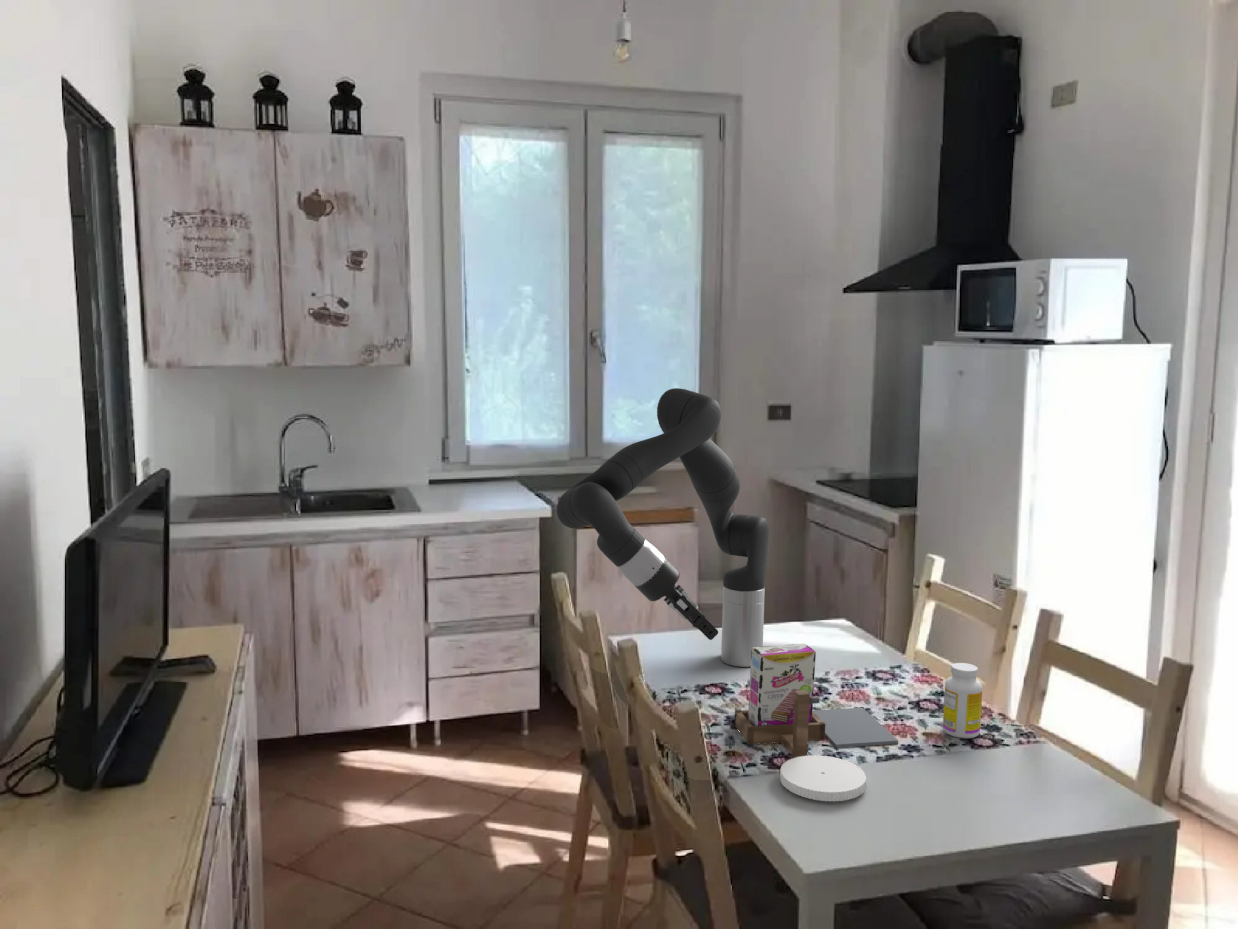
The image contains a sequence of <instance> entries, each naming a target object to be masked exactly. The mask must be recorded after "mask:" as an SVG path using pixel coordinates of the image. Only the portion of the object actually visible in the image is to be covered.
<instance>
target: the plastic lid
mask: <svg viewBox="0 0 1238 929" xmlns="http://www.w3.org/2000/svg"><path fill="white" fill-rule="evenodd" d="M779 772H780V773H779V774H780V775H779V780H780V782H781V784H782V786H783V787H785V789H786V790H788V791H789V792H790V793H793V794H795V795H798V796H799V797H800V796H801V797H802V798H806V799H809V800H814V801H820V802H839V801H840V802H843V801H849V800H852V799H855V798H858V797H860V796H861V795H863V794H864V793H865V791H866V789H867V774H866V772H865V771H864V770H863V769H862V768H861V767H860V766H858V765H857V764H855V763H853V762H851V761H848V760H845V759H843V758H839V757H838V758H837V757H835V756H834V757H833V756H829V755H827V756H826V755H821V754H820V755H817V754H816V755H815V754H814V755H810V754H809V755H807V756H802V757H796V758H794V757H793V758H790V759H788V760H786V761H784V762H783V764H781V767H780V771H779Z"/></svg>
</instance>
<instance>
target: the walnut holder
mask: <svg viewBox="0 0 1238 929" xmlns="http://www.w3.org/2000/svg"><path fill="white" fill-rule="evenodd" d="M819 703H820V697H819V696H818V695H815V696H814V695H813V697H810V694H809V693H808V692H807V691H806V690H799V691H795V697H794V723H793V724H784V725H768V726H752V725H751V724H750V723H749V721H748V716H749V714H748V713H749V709H747V710H734V727H735V726H736V727H735V728H737V729H738V730H739V731H740V733H741V734H742V735H741V734H740V733H739V734H740V735H741V737H742V736H743V737H744V738H743V737H742V738H743V740H746V741H745V742H746V743H748V744H751V745H759V744H758V743H761V744H760V745H763V744H762V743H766V744H777V742H782V743H781V744H782V745H783V746H784V747H785V748H786V751H788V752H789V754H790V755H791V756H792V757H793V758H796V757H802V756H808V746H809V745H808V744H809V742H810V741H812V742H813V741H825V739H826V736H825V723H824V722H823V721H822V720H821V719H820V718H819V717H818V716H817V715H816V714H815V713H814V712H813V711H814V710H812V723H809V704H813V705H814V704H819ZM737 729H736V730H737ZM738 730H737V731H738ZM739 731H738V732H739ZM772 742H773V743H772ZM774 742H775V743H774ZM748 744H747V745H748Z"/></svg>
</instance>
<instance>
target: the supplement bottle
mask: <svg viewBox="0 0 1238 929" xmlns="http://www.w3.org/2000/svg"><path fill="white" fill-rule="evenodd" d="M950 672H951V676H949V677H947V679H946V680H945V682H944V697H943V715H942V716H943V717H942V729H943V731H944V732H945V734H947V735H949V736H951V737H954V738H960V739H973V738H977V737H978V736H979V735H980V732H981V721H982V720H981V718H982V701H983V700H982V699H983V685H982V683H981V682H980V681H979V679H977V677H978V675H979V668H978V666H976V665H974V664H971V663H967V662H966V663H965V662H955V663H952V664H951V669H950Z"/></svg>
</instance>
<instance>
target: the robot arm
mask: <svg viewBox="0 0 1238 929" xmlns="http://www.w3.org/2000/svg"><path fill="white" fill-rule="evenodd" d="M721 410H722V409H721V406H720V403H718V401H717V400H716V399H715V398H712V397H711V396H709V395H704V394H702V393H699V392H695V391H692V390H688V389H686V388H678V387H677V388H674V387H673V388H670V389H667V390H666V391H664V392H663V394H662V395H661V396H660V398H659V400H658V403H657V407H656V416H657V421H658V425H659V428H660V429H661V431H662V432H663V433H661V434H659V435H656V436H653V437H650V438H646V439H643V440H639V441H637V442H633V443H631V444H629V445H627V446H625V447H623V448H622V449H619V451H617V452H616V453H615V454H613V455H612V456H611V457H610V458H608V459H607V460H606V461H605V462H604V463H603V464H601V465H600V466H599V467H598V468H597V469H596V470H595V471H593V472H592V473H591V474H590V475H588V476H586V477H585V478H583V479H582V480H580V481H578V482H577V483H576V484H574V485H573V486H571V487H570V488H568V490H566V491H565V492H564V493H563V494H562V495H561V496H560V497H559V499H558V501H557V505H556V515H557V518H558V520H559V522H560V523H561V524H562V525H564V526H565V527H567V528H570V529H573V530H574V529H576V530H579V529H583V528H586V527H588V526H591V527H593V529H594V530H595V531H596V533H597V534H598V535H597V540H596V545H597V547H598V549H599V550H600V551H601V552H602V553H603V555H604V556H605V557H606V558H608V559H609V561H610V562H611V563H612V564H613V565H614V566H616V567H617V569H619V571H620V573H621V574H622V575H623V577H625V579H627V580H628V581H629V582H630V583H631V584H632V585H633V586H634V587H635V589H637V590H638V591H639V592H640V593H641V595H643V596H644V597H645V599H647V600H648V601H649V602H657V601H660V600H661V599H662V598H664V599H663V600H662V601H664V602H665V603H666V605H668V606H669V608H670V609H671V610H673V611H674V612H676V613H677V614H678V615H679V617H681V618H682V619H683V620H685V621H688V622H690V624H691V625H692V627H694V628H695V629H698V630H699V631H700V632H701V633H702V634H703V636H705V637H706V638H707V639H708V640H710V641H712V640H713V639H714V638H715V637H716V636H718V634H719V630H718V629H717V628H716V627H715V626H714V625H713V624H712V623H711V622H710V621H709V620H708V619H707V617H706V615H705V614H703V613H702V612H701V611H700V610H699V605H698V604H697V603H695V601H694V600H693V599H692V598H691V597H690V596H689V593H688V592H687V591H686V590H685V589H684V588H683V587H682V586H681V585H680V584H679V583H678V582H679V578H680V576H681V575H680V571H679V569H678V568H677V567H676V566H675V565H674V563H672V562H671V561H670V560H669V559H668V558H667V557H666V556H665V555H664V554H663V553H662V552H661V551H660V550H659V549H658V548H657V547H656V546H655V545H654V544H653V543H651V542H650V541H648V540H647V539H646V537H644V536H643V535H642V534H641V533H640V532H639V531H638V530H637V529H636V528H635V526H633V525H632V524H630V523H629V521H628V519H627V518H626V515H625V514H624V512H623V511H622V509H621V507H620V506H619V504H618V503H617V501H619V500H621V499H623V498H625V497H626V496H627V495H629V494H630V493H631V492H632V491H633V490H634V489H636V488H637V487H638V486H639V485H641V484H642V483H643V482H644V481H645V480H646V479H647V478H649V477H651V475H652V474H654V473H655V472H657V471H658V470H661V468H663V467H664V466H666V465H668V464H669V463H672V462H673V461H675V460H677V459H680V461H681V463H682V465H683V467H684V469H685V471H686V473H687V474H688V476H689V479H690V481H691V484H692V486H693V488H694V489H695V492H696V494H697V496H698V498H699V499H700V501H701V503H702V505H703V508H704V509H705V512H706V514H707V517H708V519H709V523H710V525H711V528H712V532H713V534H714V537H715V541H716V543H717V546H718V548H719V549H720V550H721V551H722V552H723V553H724V554H726V555H730V556H737V557H744V558H747V561H746V565H743V566H741V567H738V568H732V569H729V570H727V571H726V572H725V573H724V574H723V579H722V580H723V581H722V618H721V621H722V624H721V647H720V649H721V650H720V651H721V653H720V656H721V657H720V660H721V662H723V663H724V664H726V665H730V666H734V667H740V668H741V667H742V668H743V667H744V668H748V667H750V668H751V652H752V647H764V627H765V626H764V623H765V622H764V621H765V620H764V619H765V618H764V617H765V594H766V593H765V588H766V576H767V567H768V566H767V565H768V553H769V544H770V543H769V541H770V527H769V526H770V525H769V523H768V521H767V519H766V518H765V517H762V516H759V515H758V516H757V515H748V514H740V513H736V512H735V513H734V512H733V511H732V509H731V508H732V506H733V504H734V503H735V502H736V500H737V498H738V495H739V494H740V489H741V482H740V479H739V476H738V473H737V471H736V468H735V466H734V463H733V462H732V460H731V459H730V457H729V456H728V455H727V453H726V452H725V451H723V449H721V448H720V447H719V446H718V445H717V444H716V443H715V442H714V441H713V440H712V439H711V438H712V437H713V435H714V434H715V433H716V432H717V430H718V428H719V426H720V423H721V419H722V411H721ZM677 583H678V585H676V584H677Z"/></svg>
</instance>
